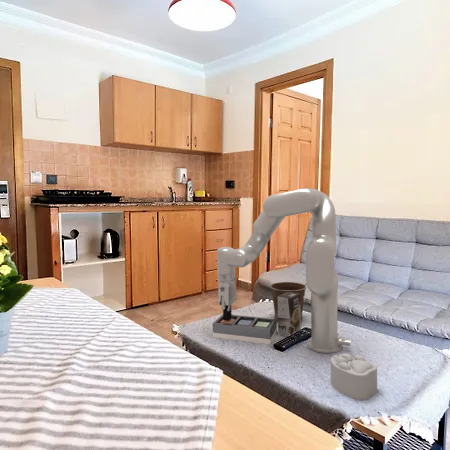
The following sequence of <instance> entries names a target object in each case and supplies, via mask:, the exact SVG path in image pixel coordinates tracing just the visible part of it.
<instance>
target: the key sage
mask: <svg viewBox="0 0 450 450" xmlns="http://www.w3.org/2000/svg"><path fill="white" fill-rule="evenodd" d="M269 326H270V323H268V322H257V324H256V325H255V327H260V328H268V327H269Z"/></svg>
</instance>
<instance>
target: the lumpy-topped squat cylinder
mask: <svg viewBox="0 0 450 450" xmlns="http://www.w3.org/2000/svg"><path fill="white" fill-rule="evenodd" d="M330 383H331V384H330V385H332V387H333V388H334V389H335V390H336V391H337V392H339V393H341V394H342V395H345V396H347V397H348V398H352V399H354V400H358V401H366V400H367V399H369V397H371V396H373V395H375V394H377V392H378V367H377V365H375V364H374V363H373V362H370V361H368V360H367V359H365V357H364V356H363V355H361V354H355V355H353V354H352V355H350V354H349V353H342V354H335V355H333V356H331V358H330Z"/></svg>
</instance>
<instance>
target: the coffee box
mask: <svg viewBox="0 0 450 450" xmlns="http://www.w3.org/2000/svg"><path fill="white" fill-rule="evenodd" d="M301 323H302V321H301V317H300V293H293V292H286V293H284V294H282V295H280V296H278V322H277V334H278V335H281V336H285V337H288V336H289V335H292V334H294V333H295V332H297V331H299V330H300V331H301V327H302V326H301V325H302V324H301ZM300 331H299V332H300Z"/></svg>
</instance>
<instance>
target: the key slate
mask: <svg viewBox="0 0 450 450" xmlns="http://www.w3.org/2000/svg"><path fill="white" fill-rule="evenodd" d="M251 323H252V321H248V320H240V321H239V323H238V324H237V325H241V326H250V324H251Z"/></svg>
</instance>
